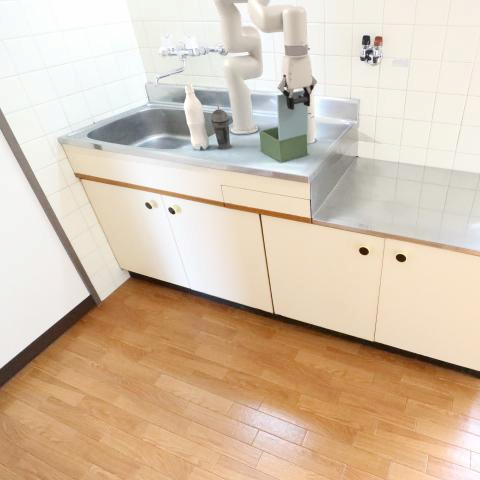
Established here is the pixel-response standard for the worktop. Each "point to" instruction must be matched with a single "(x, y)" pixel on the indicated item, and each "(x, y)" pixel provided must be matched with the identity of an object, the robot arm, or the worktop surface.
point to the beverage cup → (221, 127)
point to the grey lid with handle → (292, 116)
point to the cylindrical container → (310, 118)
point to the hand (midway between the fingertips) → (298, 106)
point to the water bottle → (195, 119)
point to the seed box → (282, 145)
